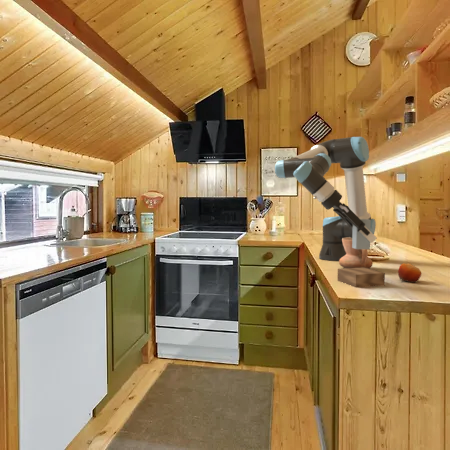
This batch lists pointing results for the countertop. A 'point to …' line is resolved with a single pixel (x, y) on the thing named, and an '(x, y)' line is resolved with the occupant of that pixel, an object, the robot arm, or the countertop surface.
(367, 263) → the ceramic jug
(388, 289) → the countertop surface
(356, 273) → the walnut slab
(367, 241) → the pillar
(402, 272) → the fruit
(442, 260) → the countertop surface
